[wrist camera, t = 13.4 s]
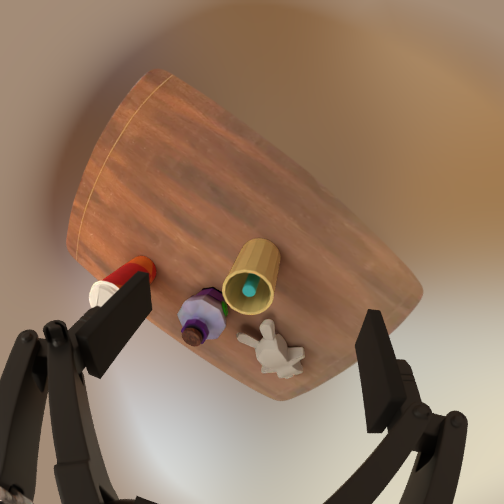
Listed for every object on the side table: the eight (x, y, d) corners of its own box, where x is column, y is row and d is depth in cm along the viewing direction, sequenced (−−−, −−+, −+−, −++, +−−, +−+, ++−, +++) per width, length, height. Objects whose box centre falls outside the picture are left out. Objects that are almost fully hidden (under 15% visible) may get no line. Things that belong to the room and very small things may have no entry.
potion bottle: (244, 306, 54) (229, 348, 43) (210, 325, 57) (190, 366, 46) (214, 271, 52) (191, 307, 41) (181, 292, 55) (155, 329, 44)
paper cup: (148, 293, 56) (113, 333, 44) (121, 267, 55) (80, 301, 42) (169, 270, 53) (133, 310, 41) (139, 242, 52) (96, 274, 39)
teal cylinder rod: (255, 252, 49) (242, 284, 39) (266, 254, 49) (256, 286, 39) (254, 262, 50) (241, 296, 39) (265, 264, 49) (255, 298, 39)
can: (241, 235, 48) (223, 266, 38) (282, 241, 48) (276, 274, 37) (238, 272, 51) (221, 310, 40) (277, 278, 50) (270, 318, 39)
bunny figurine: (274, 389, 56) (228, 347, 51) (275, 370, 60) (232, 328, 55) (315, 373, 52) (272, 327, 47) (314, 354, 57) (273, 307, 52)
